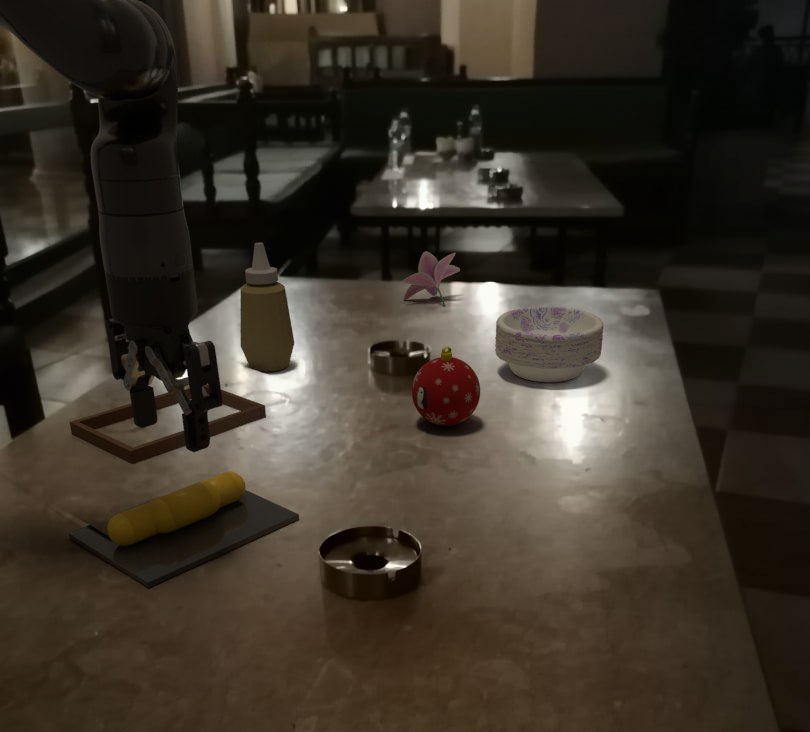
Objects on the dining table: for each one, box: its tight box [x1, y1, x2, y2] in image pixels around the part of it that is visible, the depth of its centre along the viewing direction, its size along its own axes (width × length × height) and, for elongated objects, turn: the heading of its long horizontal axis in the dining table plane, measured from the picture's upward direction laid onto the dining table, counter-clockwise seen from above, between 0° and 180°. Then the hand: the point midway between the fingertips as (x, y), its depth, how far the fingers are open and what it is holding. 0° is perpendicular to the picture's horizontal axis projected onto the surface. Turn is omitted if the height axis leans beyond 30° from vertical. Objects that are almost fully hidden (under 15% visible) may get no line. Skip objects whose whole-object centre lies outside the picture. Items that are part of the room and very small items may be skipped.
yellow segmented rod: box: [106, 471, 247, 546], centre depth 90 cm, size 16×4×4 cm, turn 137°
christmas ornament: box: [411, 346, 481, 427], centre depth 113 cm, size 9×9×10 cm
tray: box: [69, 384, 267, 465], centre depth 113 cm, size 20×14×2 cm
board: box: [68, 489, 300, 589], centre depth 91 cm, size 18×14×1 cm
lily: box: [402, 250, 461, 307], centre depth 167 cm, size 12×12×10 cm
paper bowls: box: [494, 306, 604, 383], centre depth 131 cm, size 15×15×8 cm
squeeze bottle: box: [240, 242, 295, 372], centre depth 132 cm, size 8×8×18 cm
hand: (172, 436), depth 87 cm, fingers open, 8 cm apart
